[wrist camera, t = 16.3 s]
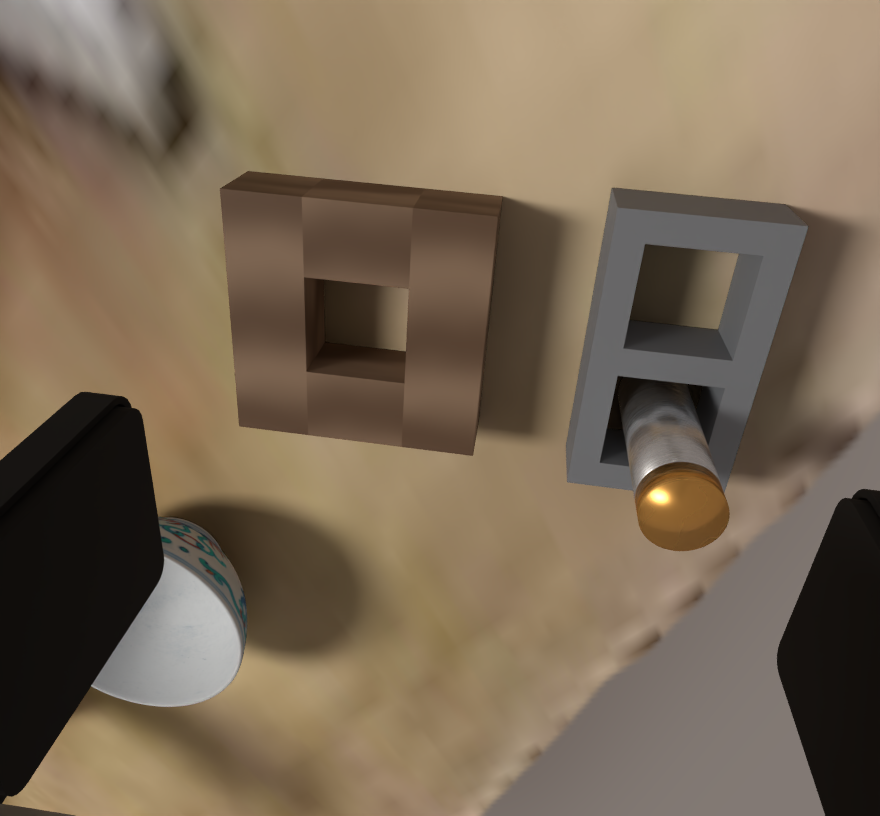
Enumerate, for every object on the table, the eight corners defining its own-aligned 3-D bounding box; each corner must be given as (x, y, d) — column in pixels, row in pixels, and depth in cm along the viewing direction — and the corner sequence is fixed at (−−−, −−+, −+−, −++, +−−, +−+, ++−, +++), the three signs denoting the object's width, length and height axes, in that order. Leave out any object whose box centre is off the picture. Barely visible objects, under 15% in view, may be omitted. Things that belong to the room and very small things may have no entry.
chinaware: (43, 519, 56) (-25, 591, 49) (183, 435, 51) (127, 504, 44) (178, 649, 61) (133, 730, 55) (319, 585, 56) (287, 667, 49)
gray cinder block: (612, 187, 39) (617, 207, 36) (785, 204, 38) (808, 226, 35) (565, 445, 47) (567, 482, 44) (708, 463, 46) (721, 501, 43)
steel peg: (624, 358, 44) (647, 475, 33) (694, 366, 43) (740, 486, 33) (612, 417, 46) (630, 544, 35) (678, 425, 45) (717, 556, 35)
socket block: (247, 171, 41) (220, 188, 38) (502, 196, 40) (497, 216, 36) (261, 394, 48) (239, 426, 45) (478, 420, 47) (472, 455, 43)
